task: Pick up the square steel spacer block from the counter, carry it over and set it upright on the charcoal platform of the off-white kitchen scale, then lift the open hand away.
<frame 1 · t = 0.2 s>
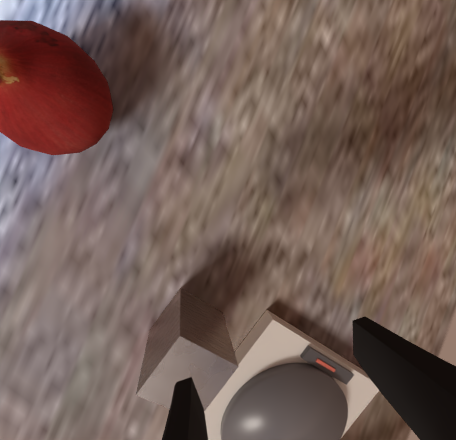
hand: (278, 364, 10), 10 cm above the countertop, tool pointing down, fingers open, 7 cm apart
onion: (80, 114, 16), on the countertop
steel spacer: (187, 320, 20), on the countertop
kitchen scale: (277, 403, 23), on the countertop
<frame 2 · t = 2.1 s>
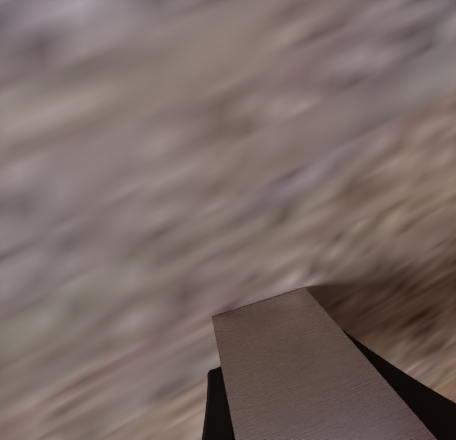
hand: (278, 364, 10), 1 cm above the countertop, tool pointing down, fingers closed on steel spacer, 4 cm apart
steel spacer: (266, 338, 11), on the countertop, touching gripper
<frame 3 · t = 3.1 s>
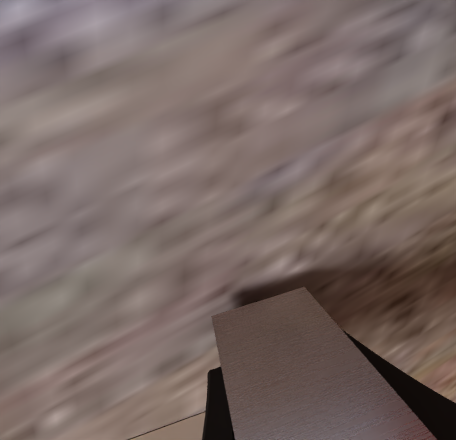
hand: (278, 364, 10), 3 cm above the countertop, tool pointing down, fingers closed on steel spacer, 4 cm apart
steel spacer: (266, 337, 11), point 1 cm above the countertop, touching gripper
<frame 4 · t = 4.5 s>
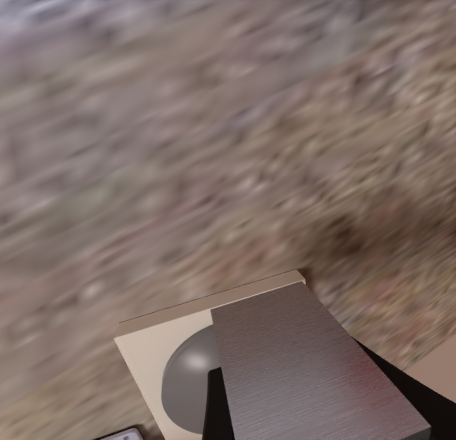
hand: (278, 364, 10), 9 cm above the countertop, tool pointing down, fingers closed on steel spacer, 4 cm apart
steel spacer: (264, 331, 11), point 8 cm above the countertop, touching gripper
kitchen scale: (229, 359, 22), on the countertop
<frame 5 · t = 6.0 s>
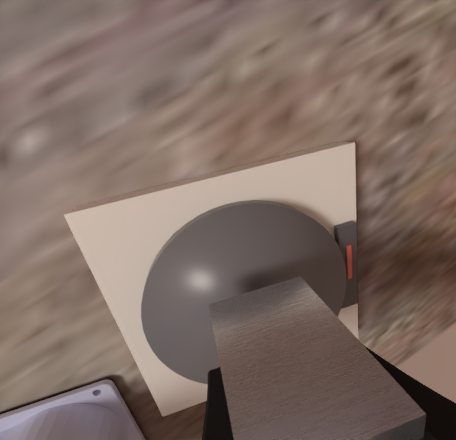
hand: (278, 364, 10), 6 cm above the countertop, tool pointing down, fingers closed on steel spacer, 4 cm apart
steel spacer: (262, 326, 11), point 4 cm above the countertop, touching gripper
kitchen scale: (241, 282, 16), on the countertop
when the fingers open (5 cm above the countertop, at t = 7.0 s): steel spacer drops 1 cm, resting on kitchen scale.
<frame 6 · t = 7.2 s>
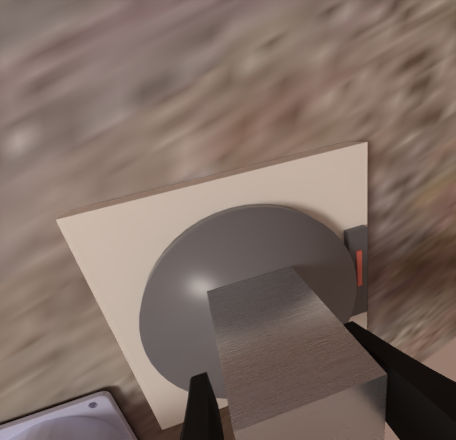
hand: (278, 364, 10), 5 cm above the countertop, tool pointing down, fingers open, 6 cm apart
steel spacer: (256, 312, 13), point 3 cm above the countertop, touching kitchen scale
kitchen scale: (244, 289, 15), on the countertop
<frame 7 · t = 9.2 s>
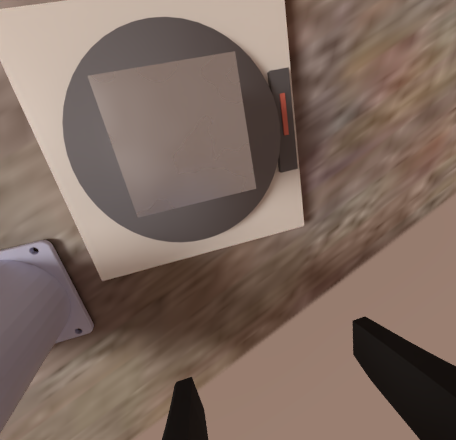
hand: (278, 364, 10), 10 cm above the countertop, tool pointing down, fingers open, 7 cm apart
steel spacer: (180, 140, 13), point 2 cm above the countertop, touching kitchen scale
kitchen scale: (181, 145, 16), on the countertop
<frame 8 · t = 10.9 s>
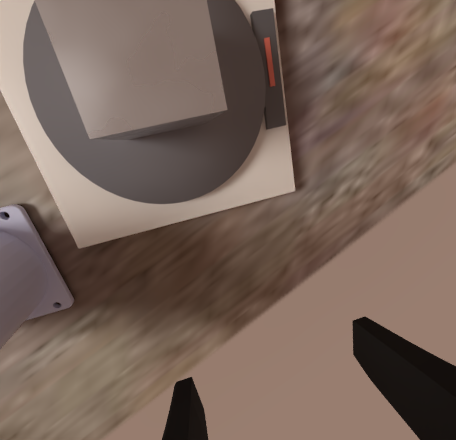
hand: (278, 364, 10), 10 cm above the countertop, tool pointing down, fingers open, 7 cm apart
steel spacer: (155, 87, 12), point 2 cm above the countertop, touching kitchen scale
kitchen scale: (160, 101, 15), on the countertop
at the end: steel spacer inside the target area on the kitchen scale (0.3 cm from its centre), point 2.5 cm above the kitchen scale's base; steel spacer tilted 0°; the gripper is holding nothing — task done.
